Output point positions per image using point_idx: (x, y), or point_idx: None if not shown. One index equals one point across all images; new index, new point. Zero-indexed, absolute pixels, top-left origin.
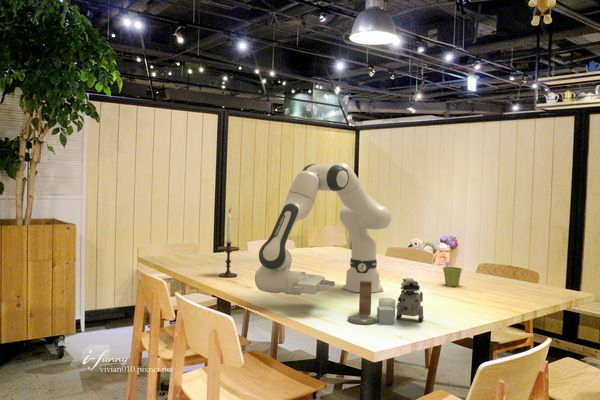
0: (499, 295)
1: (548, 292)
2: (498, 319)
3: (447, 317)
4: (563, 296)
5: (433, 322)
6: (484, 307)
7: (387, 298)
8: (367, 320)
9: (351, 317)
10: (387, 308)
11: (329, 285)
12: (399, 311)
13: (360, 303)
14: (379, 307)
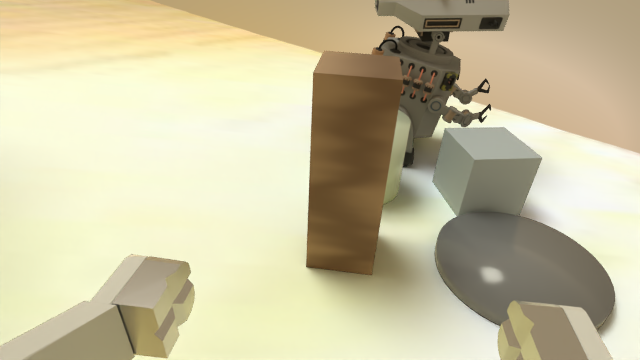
0: (96, 26)
1: (96, 3)
2: (321, 54)
3: None
4: (134, 3)
5: None
6: (212, 49)
7: None
8: (540, 242)
9: None
10: (491, 138)
11: (537, 311)
12: (416, 132)
13: (380, 217)
14: (492, 155)
